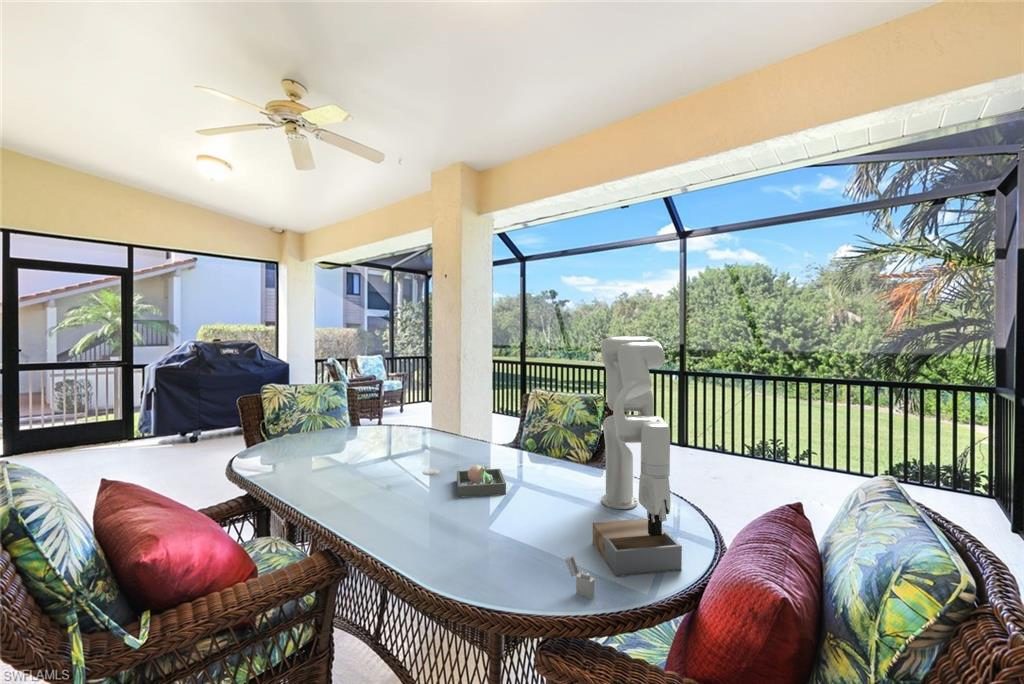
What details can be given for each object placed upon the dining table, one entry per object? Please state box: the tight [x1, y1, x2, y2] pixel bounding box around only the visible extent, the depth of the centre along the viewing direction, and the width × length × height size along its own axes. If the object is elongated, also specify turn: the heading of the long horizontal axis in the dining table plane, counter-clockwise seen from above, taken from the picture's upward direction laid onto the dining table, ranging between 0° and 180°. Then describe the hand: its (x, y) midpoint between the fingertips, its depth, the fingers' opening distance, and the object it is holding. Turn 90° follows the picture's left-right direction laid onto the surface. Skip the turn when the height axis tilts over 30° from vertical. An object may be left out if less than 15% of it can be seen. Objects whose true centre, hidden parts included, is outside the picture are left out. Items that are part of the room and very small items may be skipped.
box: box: [604, 531, 683, 578], centre depth 120 cm, size 8×18×6 cm, turn 99°
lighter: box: [565, 555, 596, 600], centre depth 109 cm, size 7×2×8 cm, turn 52°
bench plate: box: [592, 518, 665, 561], centre depth 129 cm, size 10×18×6 cm, turn 99°
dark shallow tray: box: [456, 468, 507, 498], centre depth 179 cm, size 18×18×4 cm
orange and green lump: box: [466, 464, 494, 485], centre depth 179 cm, size 12×10×9 cm
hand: (654, 534), depth 123 cm, fingers closed
